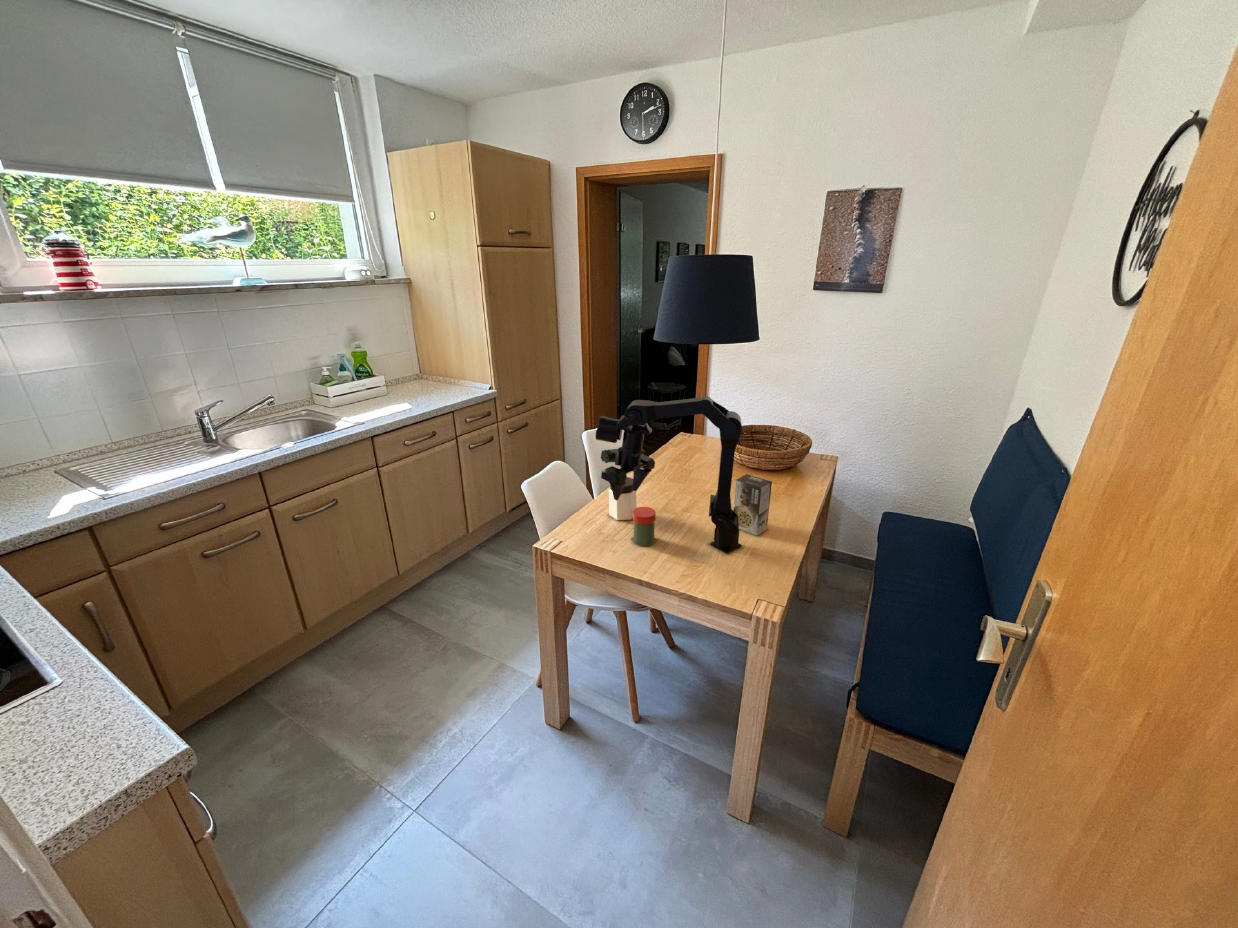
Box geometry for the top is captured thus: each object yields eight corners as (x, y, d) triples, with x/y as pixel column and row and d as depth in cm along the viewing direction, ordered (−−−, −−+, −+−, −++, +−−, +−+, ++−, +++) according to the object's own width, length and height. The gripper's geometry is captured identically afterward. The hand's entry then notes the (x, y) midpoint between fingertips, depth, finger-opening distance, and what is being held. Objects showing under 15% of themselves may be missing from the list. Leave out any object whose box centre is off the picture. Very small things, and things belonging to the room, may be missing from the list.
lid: (660, 520, 145) (660, 512, 144) (642, 527, 141) (642, 519, 140) (645, 511, 150) (645, 504, 149) (628, 518, 146) (628, 510, 145)
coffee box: (767, 528, 154) (773, 481, 148) (756, 536, 150) (761, 487, 144) (742, 519, 160) (746, 473, 154) (731, 526, 156) (735, 478, 150)
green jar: (658, 541, 148) (659, 514, 144) (642, 548, 144) (642, 520, 141) (645, 533, 152) (645, 506, 149) (629, 539, 149) (629, 512, 146)
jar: (634, 508, 168) (634, 475, 163) (637, 519, 160) (638, 485, 156) (608, 509, 167) (607, 476, 163) (610, 521, 160) (609, 487, 155)
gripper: (628, 430, 150) (622, 477, 156) (588, 444, 136) (583, 494, 142) (659, 441, 145) (651, 489, 151) (621, 457, 130) (614, 509, 137)
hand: (625, 495), depth 145 cm, fingers open, 9 cm apart
